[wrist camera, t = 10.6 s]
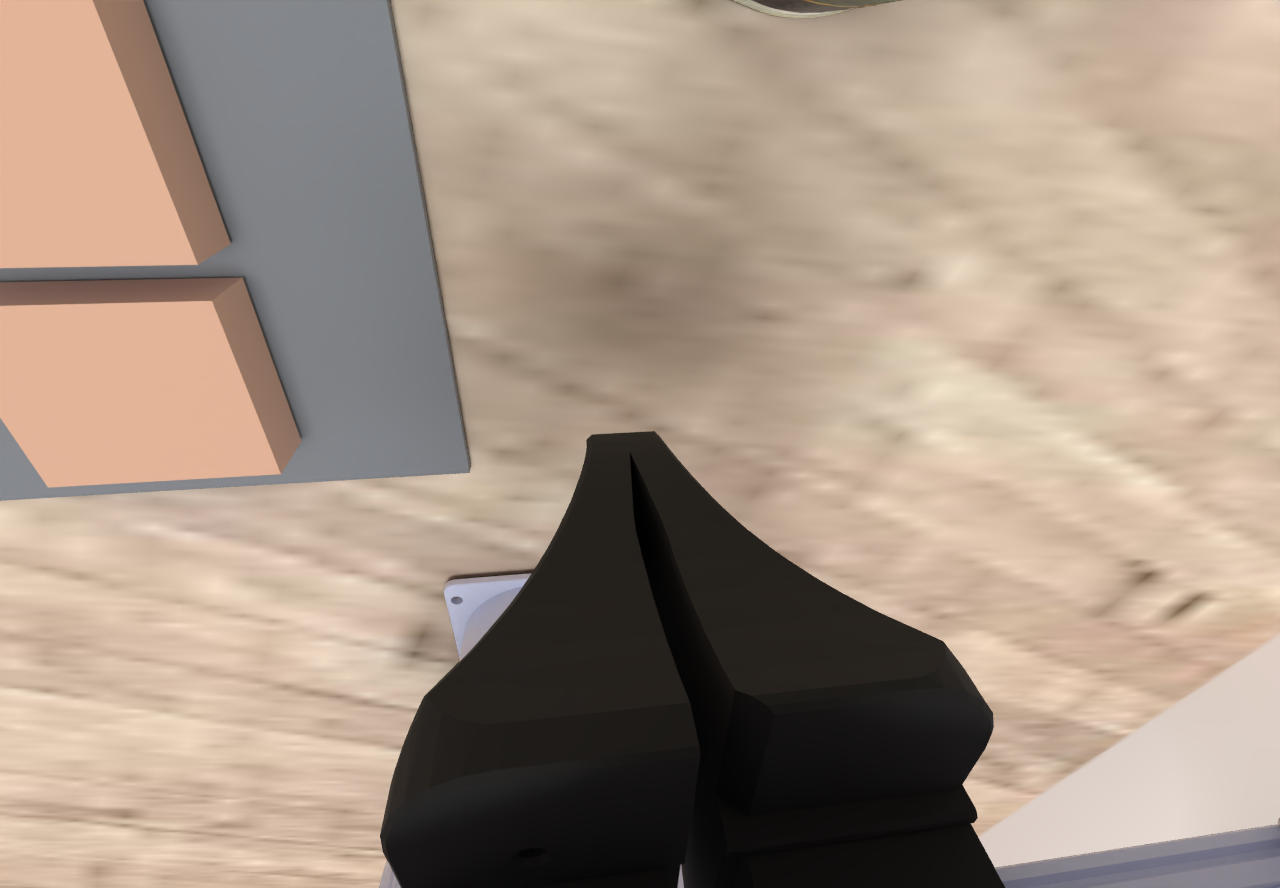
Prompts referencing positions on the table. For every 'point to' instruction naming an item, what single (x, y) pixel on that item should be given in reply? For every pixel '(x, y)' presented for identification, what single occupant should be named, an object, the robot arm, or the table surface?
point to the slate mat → (307, 235)
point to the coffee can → (807, 6)
